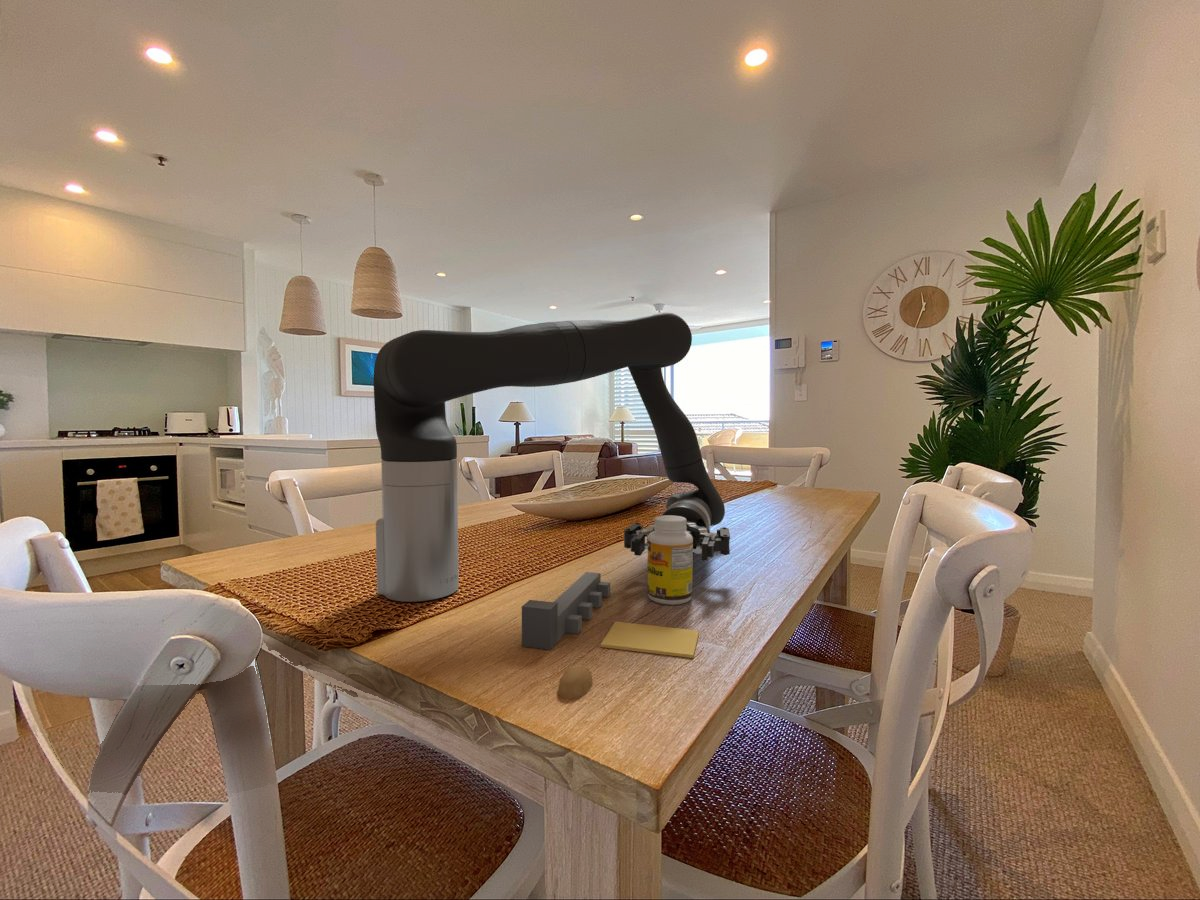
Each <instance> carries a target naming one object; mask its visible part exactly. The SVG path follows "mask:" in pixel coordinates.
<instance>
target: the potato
mask: <svg viewBox="0 0 1200 900" xmlns="http://www.w3.org/2000/svg"><path fill="white" fill-rule="evenodd" d="M592 686H593V676H592V672H591V671H590V669H589V668H588V667H587V666H585V665H583V664H581V665H580V664H579V665H578V664H577V665H573V666H571V667H570V668H568V669H566V670H565V671H564V672H563V674H562V675H561V678H560V680H559V683H558V687H557V688H558V689H557V694H558V695H559V697H561V698H563V699H569V700H573V699H579V697H580V698H581V697H582V696H583V695H585V694H587V693H588V691H590V690H591V689H592Z"/></svg>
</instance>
